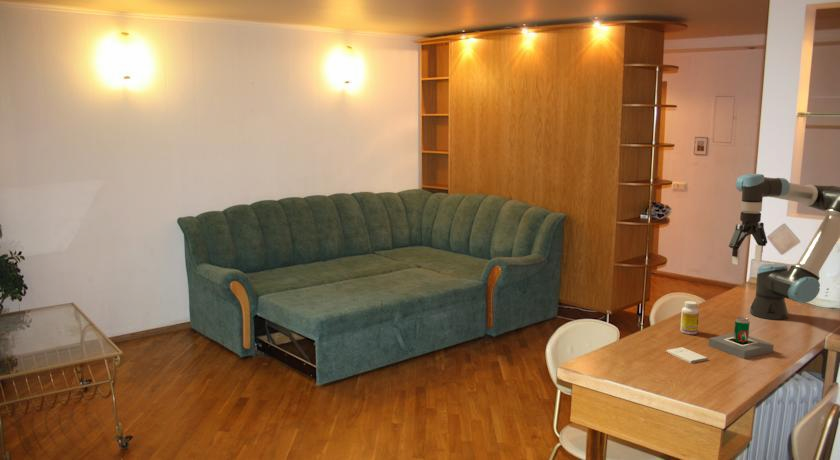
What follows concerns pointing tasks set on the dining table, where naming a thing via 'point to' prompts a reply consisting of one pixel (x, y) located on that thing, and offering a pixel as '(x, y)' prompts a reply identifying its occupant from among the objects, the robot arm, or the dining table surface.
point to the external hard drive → (687, 355)
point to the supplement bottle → (689, 318)
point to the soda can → (741, 330)
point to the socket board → (741, 346)
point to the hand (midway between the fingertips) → (746, 262)
